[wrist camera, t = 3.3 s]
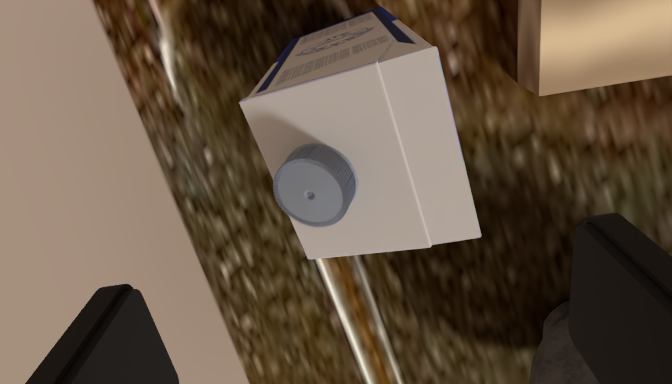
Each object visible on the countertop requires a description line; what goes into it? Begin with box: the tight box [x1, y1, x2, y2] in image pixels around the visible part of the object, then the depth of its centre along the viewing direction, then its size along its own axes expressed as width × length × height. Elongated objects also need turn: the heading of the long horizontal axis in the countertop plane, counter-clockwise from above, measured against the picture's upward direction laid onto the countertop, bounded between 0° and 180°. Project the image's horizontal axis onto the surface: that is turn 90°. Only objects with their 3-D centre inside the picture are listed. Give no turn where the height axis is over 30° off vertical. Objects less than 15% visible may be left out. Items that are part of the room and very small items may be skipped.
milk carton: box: [239, 7, 481, 259], centre depth 24 cm, size 7×7×20 cm
